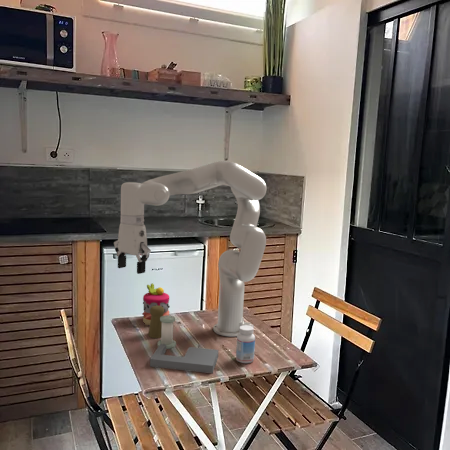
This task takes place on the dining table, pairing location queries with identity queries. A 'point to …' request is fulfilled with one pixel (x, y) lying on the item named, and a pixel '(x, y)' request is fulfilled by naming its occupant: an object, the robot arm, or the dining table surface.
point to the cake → (154, 302)
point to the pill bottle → (245, 344)
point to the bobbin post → (167, 332)
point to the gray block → (186, 359)
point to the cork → (156, 322)
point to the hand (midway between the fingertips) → (131, 270)
